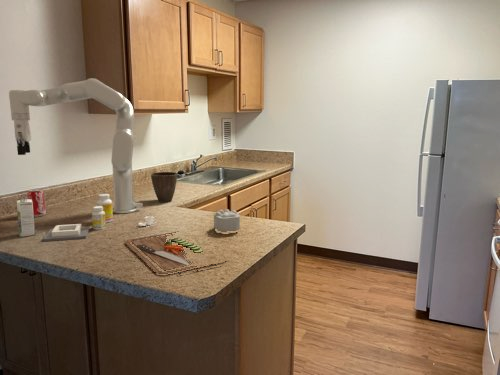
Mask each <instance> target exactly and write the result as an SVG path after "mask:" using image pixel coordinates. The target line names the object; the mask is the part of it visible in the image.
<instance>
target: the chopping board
mask: <svg viewBox="0 0 500 375" xmlns="http://www.w3.org/2000/svg"><path fill="white" fill-rule="evenodd" d="M179 231H180V230H179ZM179 231H170V232H171V233H166V232H164V233H165V234H159V233H158V234H159V235H154V234H155V233H154V234H152V235H153V236H149V235H150V234H148V235H146V236H147V237H144V236H145V235H141V236H140V237H141V238H138V237H139V236H137V237H134V238H130V239H126V240H125V242H124V244H125V246H126V245H127V246H128V247H127V246H126V247H127V248H128V249H129V250H130V251H131V252H133V251H134V252H135V253H136V254H137V255H138V256H139V257H140V258H141V259H142V260H143V261H144V262H145V263H146V264H148V265H149V266H150V268H152V269H153V270H154V271H155V272H156V273H158V274H168V273H173V272H177V271H182V270H186V269H190V268H193V267H197V266H190V265H191V264H192V263H193V262H192V263H191V262H190V261H189V260H188V261H189V262H188V261H187V260H185V257H186V256H185V255H186V254H187V253H186V254H185V251H184V249H183V247H186V248H190V250H193V252H194V253H201V252H203V250H202V249H200V248H201V247H200V246H197V245H194V243H191V244H188V243H189V241H186V240H182V239H178V238H174V239H169V240H167V242H166V239H167V238H166V237H167V236H170V235H166V234H171V235H172V236H173V234H172V233H176V232H179ZM161 235H165V236H161ZM174 235H175V234H174ZM156 236H159V237H156ZM151 237H153V238H151ZM146 238H147V239H146ZM170 240H171V242H170ZM130 242H132V244H134V245H135V246H136V247H137V248H139V249H140V250H141V251H142V252H143V253H144V254H145V255H146V256H148V257H149V258H150V259H151V260H152V261H153V262H154V263H156V264H157V265H158V266H159V267H160V268H161V269H163V270H164V271H166V270H171V269H175V268H179V267H184V266H187V265H188V266H190V267H185V268H181V269H176V270H172V271H167V272H162V271H159V270H158V269H157V268H156V267H155V266H154V265H153V264H152V263H151V262H150V261H149V260H148V259H147V258H145V257H144V256H143V255H142V254H141V253H140V252H139V251H138V250H137V249H136V248H135V247H134V246H132V245H131V244H130ZM165 242H166V243H165ZM172 242H175V243H178V245H182V246H178V245H172ZM181 251H182V252H181ZM183 251H184V252H183ZM134 252H133V253H134ZM135 253H134V254H135ZM136 254H135V255H136ZM184 254H185V255H184ZM137 255H136V256H137ZM183 255H184V256H185V257H184V256H183ZM138 256H137V257H138ZM139 257H138V258H139ZM140 258H139V259H140ZM186 258H187V257H186ZM141 259H140V260H141ZM142 260H141V261H142ZM143 261H142V262H143ZM144 262H143V263H144ZM145 263H144V264H145ZM190 263H191V264H190ZM146 264H145V265H146ZM193 264H194V263H193ZM150 268H149V269H150Z"/></svg>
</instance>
